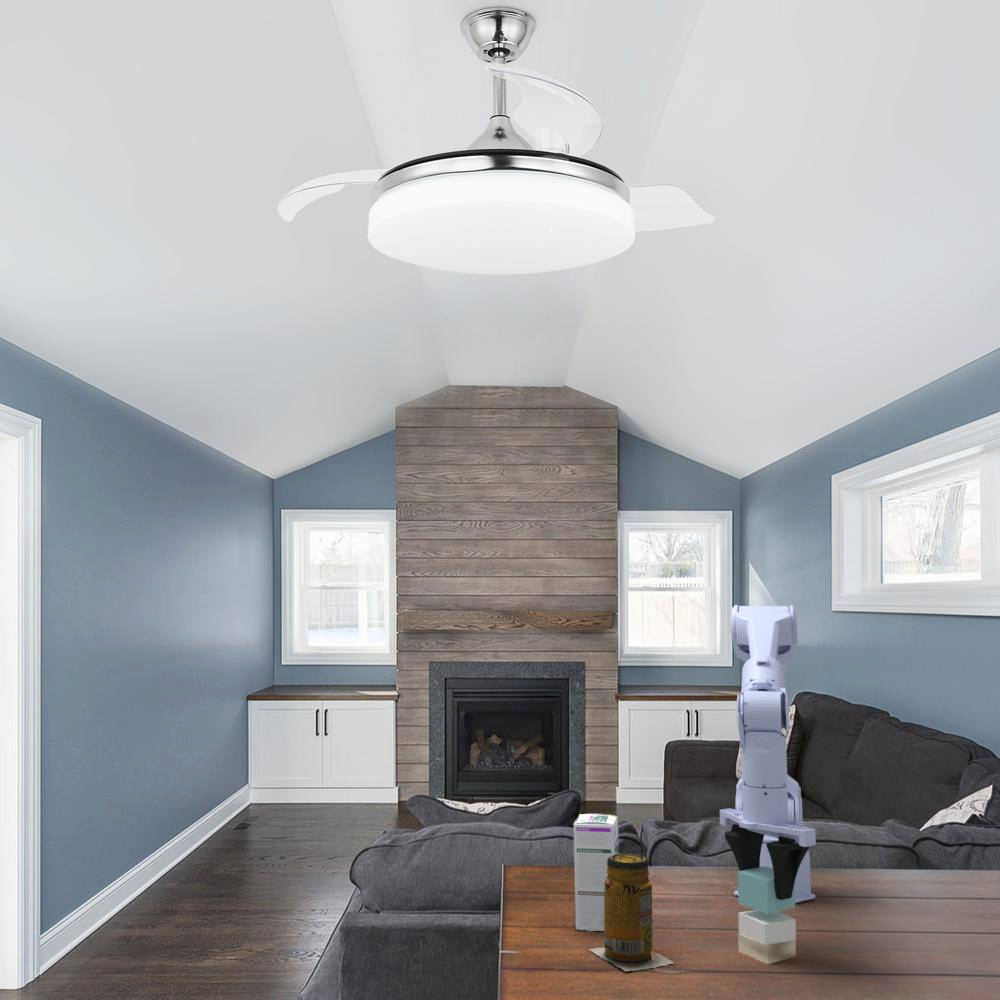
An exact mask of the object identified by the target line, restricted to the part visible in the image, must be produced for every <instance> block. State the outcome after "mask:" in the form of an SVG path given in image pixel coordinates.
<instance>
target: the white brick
mask: <svg viewBox="0 0 1000 1000" xmlns="http://www.w3.org/2000/svg"><path fill="white" fill-rule="evenodd" d="M796 921H797V920H796V918H793V917H791V916H789V915H788V914H784V913H782V912H781V911H779V912H774V913H770V914H767V913H764V912H761V911H758V910H755V909H753V910H748V911H742V912H738V934H742V935H744V936H746V937H748V938H751V939H753V940H755V941H757V942H759V943H761V944H763V945H769V944H775V943H780V942H786V941H791V940H796V941H797V928H796V925H797V924H796V923H797V922H796Z"/></svg>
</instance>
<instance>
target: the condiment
mask: <svg viewBox="0 0 1000 1000" xmlns="http://www.w3.org/2000/svg"><path fill="white" fill-rule="evenodd" d="M649 863H650V862H649V860H648V858H646V857H645V856H643V855H639V854H636V853H635V854H632V853H619V854H615V855H612V856H610V857H609V858H608V860H607V874H608V876H607V878H606V879H605V882H604V932H603V933H604V934H603V935H604V938H603V939H604V944H603V945H604V947H595V948H590V949H589V951H590V952H592V953H593V954H595V955H596V956H598V957H599V958H601V959H603V960H604V961H606V962H610V964H612V965H614V966H615V967H617V968H619V969H621V970H623V971H624V972H630V971H631V972H634V971H641V970H648V969H652V968H653V969H656V968H658V967H662V966H664V967H665V966H668V965H671V964H672V965H673V964H675V962H674V961H672V960H671V959H668V958H667V957H665V956H663V955H662V954H659V953H657V952H656V953H657V954H656V956H659V957H656V956H655V960H651V959H652V958H651V956H652V955H651V952H652V951H653V949H652V948H653V922H654V921H653V893H652V892H653V886H652V881H651V880H650V878H649V875H650V872H649ZM604 949H605V950H604ZM602 950H603V951H602ZM649 961H650V962H649Z"/></svg>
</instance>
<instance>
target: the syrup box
mask: <svg viewBox="0 0 1000 1000" xmlns="http://www.w3.org/2000/svg"><path fill="white" fill-rule="evenodd" d="M619 848H620V846H619V817H618V815H615V814H606V813H584V814H583V813H582V814H581V813H580V814H579V815H578V817H577V818H576V819H575V820H574V822H573V862H574V863H573V865H574V866H573V867H574V909H575V910H574V912H575V913H574V914H575V917H574V918H575V929H576V930H579V931H583V930H586V931H585V932H593V931H604V882H605V879H606V878H607V876H608V874H607V860H608V858H609V857H610V856H612V855H615V854H620V852H619V850H620V849H619Z"/></svg>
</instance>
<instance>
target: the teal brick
mask: <svg viewBox="0 0 1000 1000" xmlns="http://www.w3.org/2000/svg"><path fill="white" fill-rule="evenodd" d="M737 891H738V896H737V901H738V905H741V906H744V907H747V908H749V909H753V910H758V911H761V912H764V913H767V914H770V913H774V912H782V911H787V910H791V909H794V908H796V903H795V883H794V887H793V892H792V897H791V898H788V899H784V900H779V899H777V897H776V893H775V885H774V871H773V868H770V867H766V866H763V867H758V868H753V869H748V870H743V871H737Z"/></svg>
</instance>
